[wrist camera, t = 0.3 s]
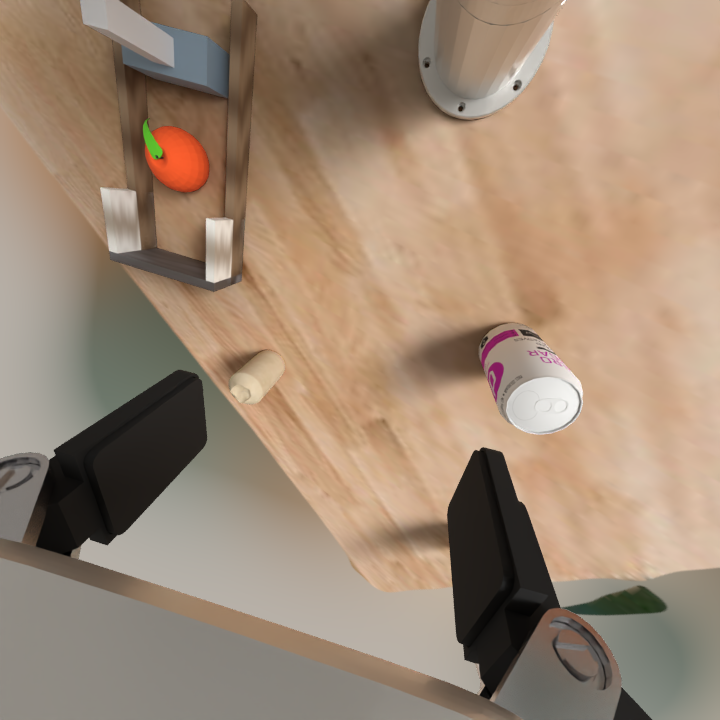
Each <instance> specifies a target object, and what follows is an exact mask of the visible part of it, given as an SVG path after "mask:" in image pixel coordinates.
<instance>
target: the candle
mask: <svg viewBox="0 0 720 720" xmlns="http://www.w3.org/2000/svg"><path fill="white" fill-rule="evenodd" d="M284 371H285V362H284V360H283V358H282V357H281V356H280V355H279V354H278V353H276V352H274V351H272V350H264V351H261V352H259V353H258V354H257V355H256V356H255V357H253V358H252V359H251V360H250V361H249V362H248V363H246V364H245V365H244V366H243V367H242V368H241V369H239V370H238V371H237V372H236V373H235V374H234V375H232V376H231V378H230V380H229V389H230V392H231V393H232V395H233V396H234V397H235V398H236V399H237V401H238V402H240V403H245V404H256V403H258V402H259V401H260V400H261V399H262V398H263V397H264V396H265V395H266V393H267V392H268V391H269V390H270V389H271V388H272V386H273V385H274V384H275V383H276V382H277V381H278V380H279V378H280V377H281V376H282V375H283V373H284Z"/></svg>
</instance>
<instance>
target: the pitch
mask: <svg viewBox="0 0 720 720" xmlns="http://www.w3.org/2000/svg"><path fill="white" fill-rule="evenodd" d="M119 1H120V2H122V3H123V4H125V5H126V6H128V7H129V8H130V9H132V10H133V11H135V12H136V13H138V14H139V15H141V11H140V0H119ZM256 25H257V14H256V13H255V12H254V11H253V9H252V8H251V7H250V6H249V5H248V4H247V2H246V1H245V0H231V33H230V66H229V99H228V133H227V166H226V200H225V217H224V218H206V263H205V262H202V261H199V260H195V259H192V258H189V257H186V256H182V255H179V254H176V253H172V252H169V251H166V250H162V249H159V248H157V239H156V225H155V211H154V196H153V182H152V171H151V169H150V167H149V165H148V163H147V160H146V157H145V144H146V143H145V139H144V135H143V125H144V122H145V120H147V119H148V111H147V97H146V83H145V74H143V73H141V72H139V71H137V70H135V69H133V68H131V67H129V66H127V65H125V64H123V57H122V46H121V44H120V43H118V42H116V41H114V40H112V43H113V53H114V62H115V72H116V81H117V91H118V100H119V110H120V119H121V129H122V138H123V148H124V158H125V167H126V177H127V186H128V189H120V188H107V187H100V189H101V196H102V203H103V210H104V217H105V224H106V231H107V238H108V245H109V252H110V259H111V260H113V261H116V262H119V263H122V264H126V265H129V266H132V267H135V268H139V269H142V270H145V271H148V272H152V273H155V274H158V275H161V276H165V277H168V278H171V279H174V280H178V281H181V282H184V283H187V284H191V285H194V286H197V287H200V288H204V289H207V290H210V291H213V292H214V291H217V290H220V289H222V288H225V287H227V286H230V285H233V284H235V283H238V282H240V281H241V280H242V263H243V246H244V229H245V212H246V195H247V178H248V161H249V144H250V127H251V110H252V93H253V76H254V59H255V42H256ZM147 125H148V120H147ZM148 128H149V125H148Z"/></svg>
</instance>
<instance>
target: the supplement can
mask: <svg viewBox="0 0 720 720" xmlns="http://www.w3.org/2000/svg"><path fill="white" fill-rule="evenodd" d="M479 358H480V361H481V364H482V366H483V369H484V372H485V374H486V377H487V380H488V382H489V385H490V388H491V390H492V393H493V396H494V398H495V401H496V404H497V406H498V409H499V412H500V414H501V415H502V416H503V417H504V418H505V419H506V421H507V422H508V423H510V424H512V425H514V426H515V427H516V428H518V429H520V430H522V431H524V432H526V433H532V434H538V435H540V434H550V433H554V432H557V431H559V430H562V429H564V428H566V427H567V426H569V425H570V424H571V423H573V422H574V421H575V420H576V418H577V417H578V415H579V414H580V413H581V409H582V404H583V401H582V396H583V391H582V387H581V383H580V381H579V380H578V379H577V378H576V376H575V375H574V374H573V373H572V372H571V371H570V370H569V369H568V367H567V366H566V365H565V364H564V363H563V362H562V361H561V360H560V359H559V358H558V357H557V355H556V354H555V353H554V352H553V351H552V350H551V349H550V348H549V347H548V346H547V345H546V343H545V342H544V341H543V340H542V339H541V338H540V337H539V336H538V335H537V334H536V333H535V331H534V330H533V329H532V328H530V327H528V326H525V325H523V324H517V323H509V324H503V325H500V326H498V327H496V328H494V329H492V330H490V331H489V332H488V333H487V334H486V335H485V336H484V337H483V339H482V341H481V343H480V346H479Z"/></svg>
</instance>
